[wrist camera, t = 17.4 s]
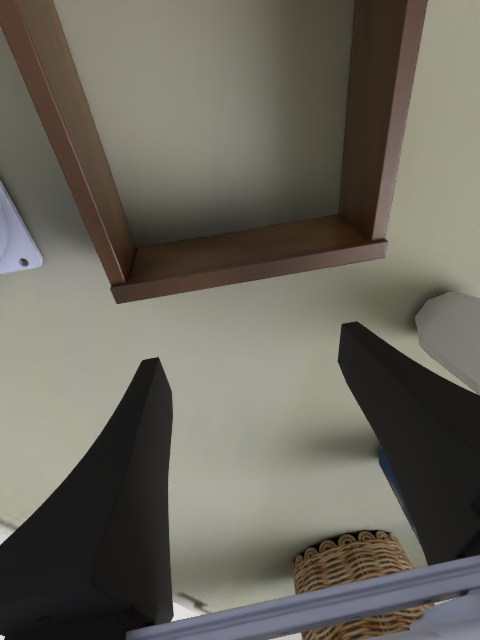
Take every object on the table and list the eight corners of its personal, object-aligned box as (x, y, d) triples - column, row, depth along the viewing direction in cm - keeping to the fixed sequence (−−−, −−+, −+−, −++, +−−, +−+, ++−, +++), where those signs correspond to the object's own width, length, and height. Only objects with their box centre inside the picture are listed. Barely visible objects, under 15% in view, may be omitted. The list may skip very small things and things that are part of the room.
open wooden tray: (128, 262, 21) (116, 304, 17) (9, -64, 12) (-71, -129, 8) (349, 225, 21) (385, 258, 17) (383, -110, 13) (468, -189, 9)
